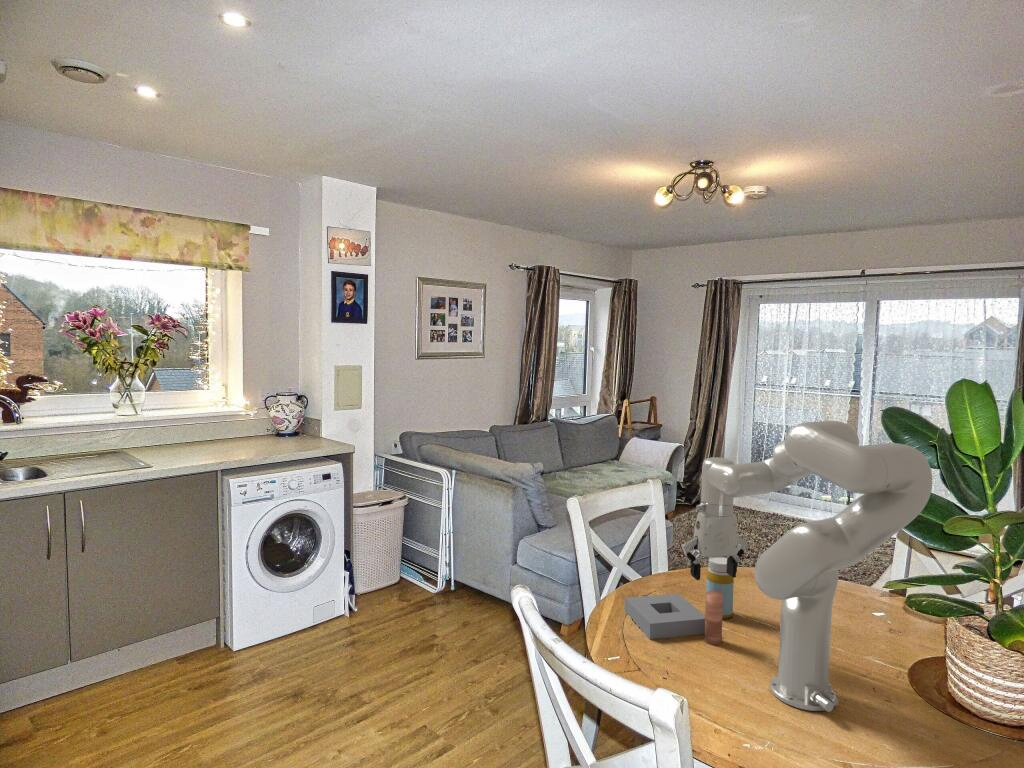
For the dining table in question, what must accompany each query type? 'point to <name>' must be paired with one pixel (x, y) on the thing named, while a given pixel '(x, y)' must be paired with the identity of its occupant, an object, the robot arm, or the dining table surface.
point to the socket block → (665, 616)
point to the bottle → (721, 583)
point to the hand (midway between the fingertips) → (713, 576)
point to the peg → (713, 618)
